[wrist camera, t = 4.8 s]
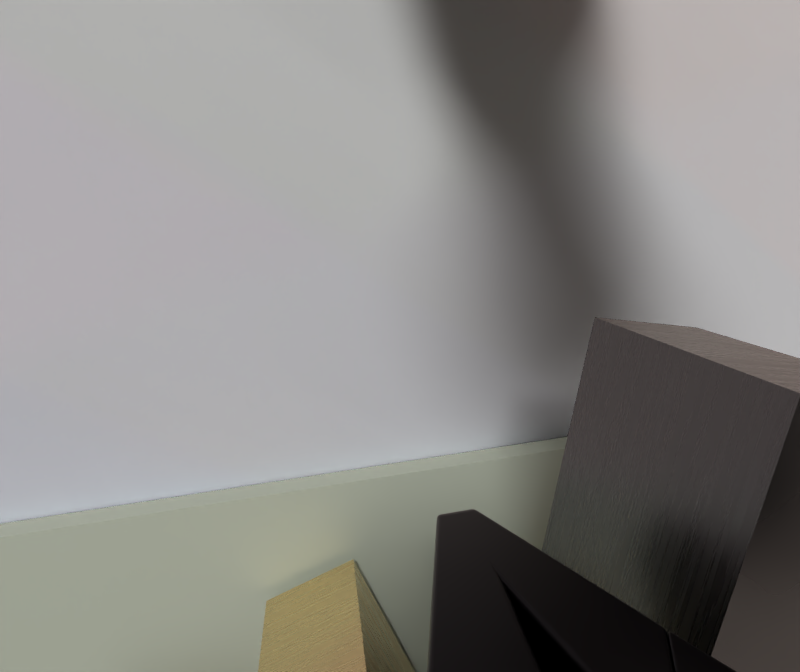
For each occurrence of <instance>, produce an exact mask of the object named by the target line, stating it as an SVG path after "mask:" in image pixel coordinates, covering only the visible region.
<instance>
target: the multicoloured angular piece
mask: <svg viewBox="0 0 800 672" xmlns="http://www.w3.org/2000/svg"><path fill="white" fill-rule="evenodd" d="M542 551H543V552H544V553H546V554H548V555H549V556H551V557H552V558H554V559H556V560H557V561H559V562H560V563H562V564H564V565H565V566H567V567H568V568H570V569H571V570H573V571H575V572H576V573H578V574H579V575H581V576H583V577H584V578H586V579H587V580H589V581H591V582H592V583H594V584H595V585H597V586H599V587H600V588H602V589H603V590H605V591H607V592H608V593H610V594H611V595H613V596H615V597H616V598H618V599H619V600H621V601H623V602H624V603H626V604H627V605H629V606H631V607H632V608H634V609H635V610H637V611H639V612H640V613H642V614H643V615H645V616H647V617H648V618H650V619H651V620H653V621H655V622H656V623H658V624H659V625H661V626H663V627H664V628H665V629H666V632H667V633H668V632H672V633H674V634H676V635H677V636H679V637H681V638H682V639H684V640H685V641H687V642H689V643H690V644H692V645H693V646H695V647H697V648H698V649H700V650H701V651H703V652H705V653H706V654H708V655H710V656H711V657H713V658H715V659H716V660H718V661H720V662H721V663H723V664H725V665H726V666H728V667H730V668H731V669H733V670H735V671H736V672H800V358H796V357H793V356H790V355H786V354H783V353H780V352H776V351H773V350H770V349H766V348H763V347H760V346H756V345H753V344H750V343H746V342H743V341H740V340H736V339H733V338H730V337H726V336H723V335H720V334H716V333H713V332H709V331H706V330H703V329H699V328H695V327H685V326H676V325H666V324H656V323H646V322H636V321H626V320H616V319H607V318H597V317H595V319H594V323H593V328H592V332H591V337H590V341H589V345H588V350H587V354H586V358H585V363H584V367H583V372H582V376H581V380H580V385H579V389H578V393H577V398H576V402H575V407H574V411H573V415H572V420H571V424H570V428H569V433H568V437H567V441H566V446H565V450H564V455H563V459H562V463H561V468H560V472H559V476H558V481H557V485H556V490H555V494H554V498H553V503H552V507H551V511H550V516H549V520H548V525H547V529H546V533H545V538H544V542H543V546H542ZM258 672H415V670H414V669H413V667H412V665H411V663H410V661H409V660H408V658H407V656H406V654H405V652H404V651H403V649H402V647H401V645H400V643H399V641H398V640H397V638H396V636H395V634H394V632H393V631H392V629H391V627H390V625H389V623H388V622H387V620H386V618H385V616H384V614H383V612H382V611H381V609H380V607H379V605H378V603H377V602H376V600H375V598H374V596H373V594H372V592H371V591H370V589H369V587H368V585H367V583H366V582H365V580H364V578H363V576H362V574H361V573H360V571H359V569H358V567H357V565H356V563H355V562H354V560H350V561H348V562H346V563H344V564H342V565H340V566H338V567H336V568H334V569H332V570H330V571H328V572H326V573H323V574H321V575H319V576H317V577H315V578H313V579H311V580H309V581H307V582H305V583H303V584H301V585H298V586H296V587H294V588H292V589H290V590H288V591H286V592H284V593H282V594H280V595H278V596H276V597H273V598H271V599H269V600H267V601H266V609H265V617H264V626H263V634H262V642H261V651H260V659H259V668H258Z"/></svg>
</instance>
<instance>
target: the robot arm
mask: <svg viewBox="0 0 800 672" xmlns="http://www.w3.org/2000/svg"><path fill="white" fill-rule="evenodd" d="M427 672H736V671H735V670H733V669H731V668H730V667H728V666H726V665H725V664H723V663H721V662H720V661H718V660H716V659H715V658H713V657H711V656H710V655H708V654H706V653H705V652H703V651H701V650H700V649H698V648H697V647H695V646H693V645H692V644H690V643H689V642H687V641H685V640H684V639H682V638H681V637H679V636H677V635H676V634H674V633H672V632H668V633H667V632H666V629H665V628H664V627H663V626H661V625H659V624H658V623H656V622H655V621H653V620H651V619H650V618H648V617H647V616H645V615H643V614H642V613H640V612H639V611H637V610H635V609H634V608H632V607H631V606H629V605H627V604H626V603H624V602H623V601H621V600H619V599H618V598H616V597H615V596H613V595H611V594H610V593H608V592H607V591H605V590H603V589H602V588H600V587H599V586H597V585H595V584H594V583H592V582H591V581H589V580H587V579H586V578H584V577H583V576H581V575H579V574H578V573H576V572H575V571H573V570H571V569H570V568H568V567H567V566H565V565H564V564H562V563H560V562H559V561H557V560H556V559H554V558H552V557H551V556H549V555H548V554H546V553H544V552H543V551H541V550H540V549H538V548H536V547H535V546H533V545H532V544H530V543H528V542H527V541H525V540H524V539H522V538H520V537H519V536H517V535H516V534H514V533H512V532H511V531H509V530H508V529H506V528H504V527H503V526H501V525H500V524H498V523H496V522H495V521H493V520H492V519H490V518H488V517H487V516H485V515H484V514H482V513H480V512H479V511H477V510H475V509H468V510H463V511H457V512H451V513H445V514H440V515H438V517H437V521H436V537H435V552H434V568H433V584H432V599H431V615H430V631H429V646H428V662H427Z"/></svg>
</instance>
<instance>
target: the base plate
mask: <svg viewBox="0 0 800 672" xmlns="http://www.w3.org/2000/svg"><path fill="white" fill-rule="evenodd" d="M566 441H567V437H562V438H556V439H549V440H543V441H536V442H530V443H523V444H517V445H510V446H504V447H497V448H491V449H484V450H478V451H471V452H465V453H458V454H452V455H445V456H438V457H432V458H425V459H419V460H412V461H406V462H399V463H393V464H386V465H380V466H373V467H367V468H360V469H354V470H347V471H341V472H334V473H328V474H321V475H315V476H308V477H302V478H295V479H289V480H282V481H276V482H269V483H263V484H256V485H250V486H243V487H237V488H230V489H224V490H217V491H211V492H204V493H198V494H191V495H185V496H178V497H172V498H165V499H159V500H152V501H146V502H139V503H133V504H126V505H120V506H113V507H106V508H100V509H93V510H87V511H80V512H74V513H67V514H61V515H54V516H48V517H41V518H35V519H28V520H22V521H15V522H9V523H2V524H0V672H258V668H259V659H260V651H261V642H262V634H263V626H264V617H265V609H266V601H267V600H269V599H271V598H273V597H276V596H278V595H280V594H282V593H284V592H286V591H288V590H290V589H292V588H294V587H296V586H298V585H301V584H303V583H305V582H307V581H309V580H311V579H313V578H315V577H317V576H319V575H321V574H323V573H326V572H328V571H330V570H332V569H334V568H336V567H338V566H340V565H342V564H344V563H346V562H348V561H350V560H354V562H355V563H356V565H357V567H358V569H359V571H360V573H361V574H362V576H363V578H364V580H365V582H366V583H367V585H368V587H369V589H370V591H371V592H372V594H373V596H374V598H375V600H376V602H377V603H378V605H379V607H380V609H381V611H382V612H383V614H384V616H385V618H386V620H387V622H388V623H389V625H390V627H391V629H392V631H393V632H394V634H395V636H396V638H397V640H398V641H399V643H400V645H401V647H402V649H403V651H404V652H405V654H406V656H407V658H408V660H409V661H410V663H411V665H412V667H413V669H414V670H415V672H427V662H428V646H429V631H430V615H431V599H432V584H433V568H434V552H435V537H436V521H437V517H438V515H440V514H445V513H451V512H457V511H463V510H468V509H475V510H477V511H479V512H480V513H482V514H484V515H485V516H487V517H488V518H490V519H492V520H493V521H495V522H496V523H498V524H500V525H501V526H503V527H504V528H506V529H508V530H509V531H511V532H512V533H514V534H516V535H517V536H519V537H520V538H522V539H524V540H525V541H527V542H528V543H530V544H532V545H533V546H535V547H536V548H538V549H540V550H541V551H542V546H543V542H544V538H545V533H546V529H547V525H548V520H549V516H550V511H551V507H552V503H553V498H554V494H555V490H556V485H557V481H558V476H559V472H560V468H561V463H562V459H563V455H564V450H565V446H566Z"/></svg>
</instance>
